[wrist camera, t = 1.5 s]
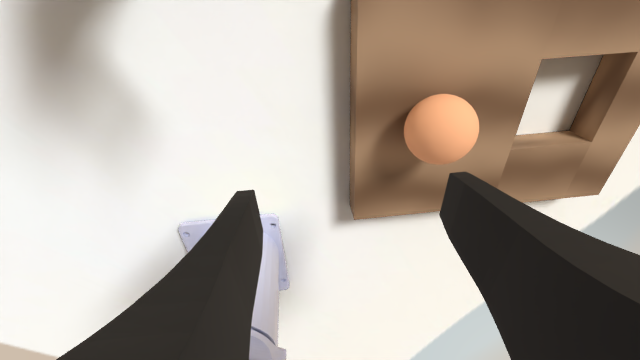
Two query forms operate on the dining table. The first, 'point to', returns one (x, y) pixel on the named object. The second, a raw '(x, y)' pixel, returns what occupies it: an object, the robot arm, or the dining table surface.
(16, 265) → the dining table surface
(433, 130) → the ball
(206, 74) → the dining table surface
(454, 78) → the hole board
